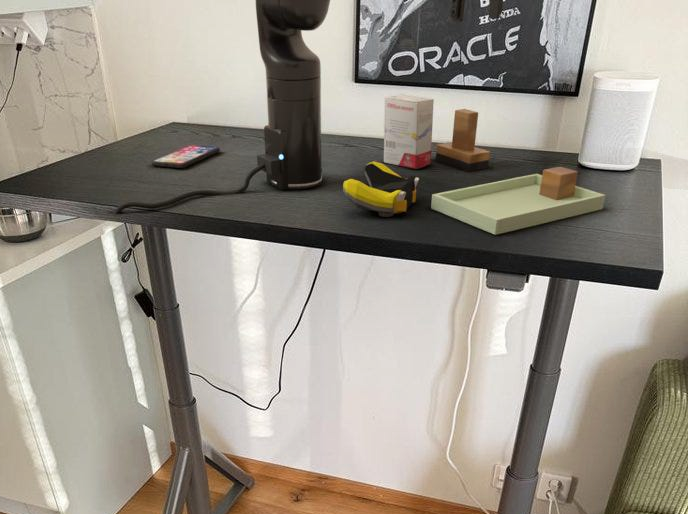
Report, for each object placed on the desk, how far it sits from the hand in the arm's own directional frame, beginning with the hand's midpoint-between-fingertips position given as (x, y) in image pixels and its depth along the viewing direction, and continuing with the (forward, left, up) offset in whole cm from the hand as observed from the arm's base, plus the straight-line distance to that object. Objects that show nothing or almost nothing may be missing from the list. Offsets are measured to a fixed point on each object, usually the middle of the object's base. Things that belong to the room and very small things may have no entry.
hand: (475, 20), depth 129 cm
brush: (0, 0, -24) cm, 24 cm away
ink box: (-9, +6, -24) cm, 27 cm away
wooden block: (-2, -27, -23) cm, 36 cm away
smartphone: (-44, +33, -24) cm, 60 cm away
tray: (-11, -27, -24) cm, 38 cm away
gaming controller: (-29, -14, -24) cm, 40 cm away
